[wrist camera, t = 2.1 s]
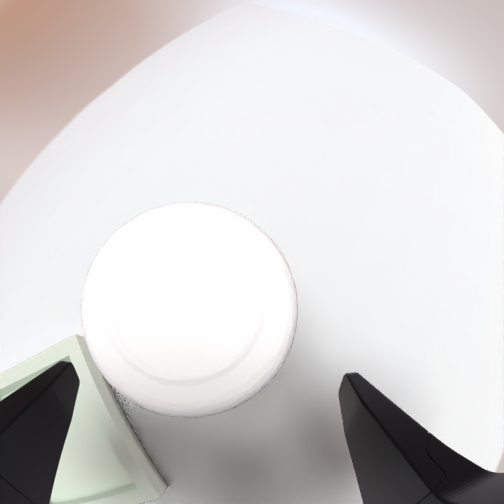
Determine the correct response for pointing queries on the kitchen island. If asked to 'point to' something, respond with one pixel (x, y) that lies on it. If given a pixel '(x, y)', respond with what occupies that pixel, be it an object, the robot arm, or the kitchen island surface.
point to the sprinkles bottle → (189, 309)
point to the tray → (92, 435)
